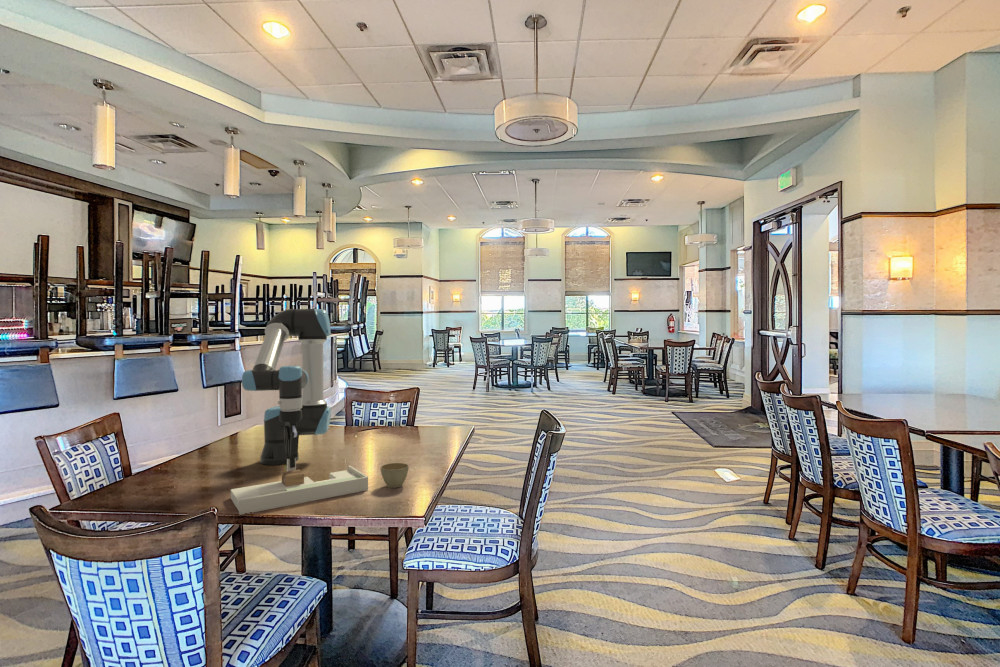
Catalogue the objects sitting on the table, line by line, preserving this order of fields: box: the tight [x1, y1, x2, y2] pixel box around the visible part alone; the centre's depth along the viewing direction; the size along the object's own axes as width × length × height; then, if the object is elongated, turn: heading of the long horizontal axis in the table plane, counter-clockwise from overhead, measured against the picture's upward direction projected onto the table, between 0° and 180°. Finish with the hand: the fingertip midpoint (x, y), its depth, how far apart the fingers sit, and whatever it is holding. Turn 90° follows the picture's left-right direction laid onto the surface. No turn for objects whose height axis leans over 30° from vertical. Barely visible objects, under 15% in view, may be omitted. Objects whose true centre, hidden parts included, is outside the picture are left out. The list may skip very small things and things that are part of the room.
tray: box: [230, 465, 369, 516], centre depth 181 cm, size 19×41×4 cm, turn 125°
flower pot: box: [380, 462, 410, 489], centre depth 190 cm, size 10×10×7 cm
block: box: [281, 469, 305, 487], centre depth 184 cm, size 6×6×4 cm
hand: (291, 476), depth 188 cm, fingers closed
